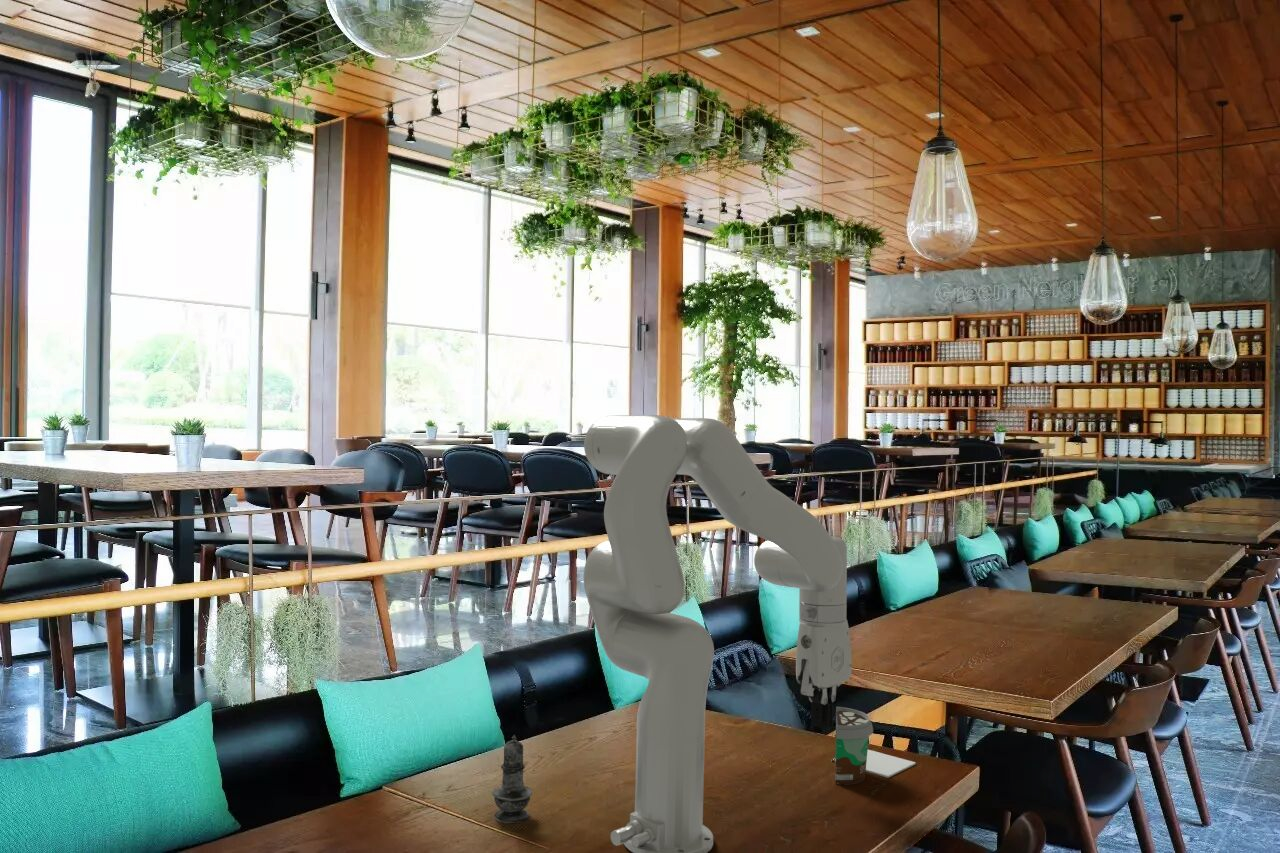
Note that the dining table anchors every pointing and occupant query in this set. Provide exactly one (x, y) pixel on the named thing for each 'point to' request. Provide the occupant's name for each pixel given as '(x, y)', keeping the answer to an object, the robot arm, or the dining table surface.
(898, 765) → the mat
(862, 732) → the food container
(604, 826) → the dining table surface
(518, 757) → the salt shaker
